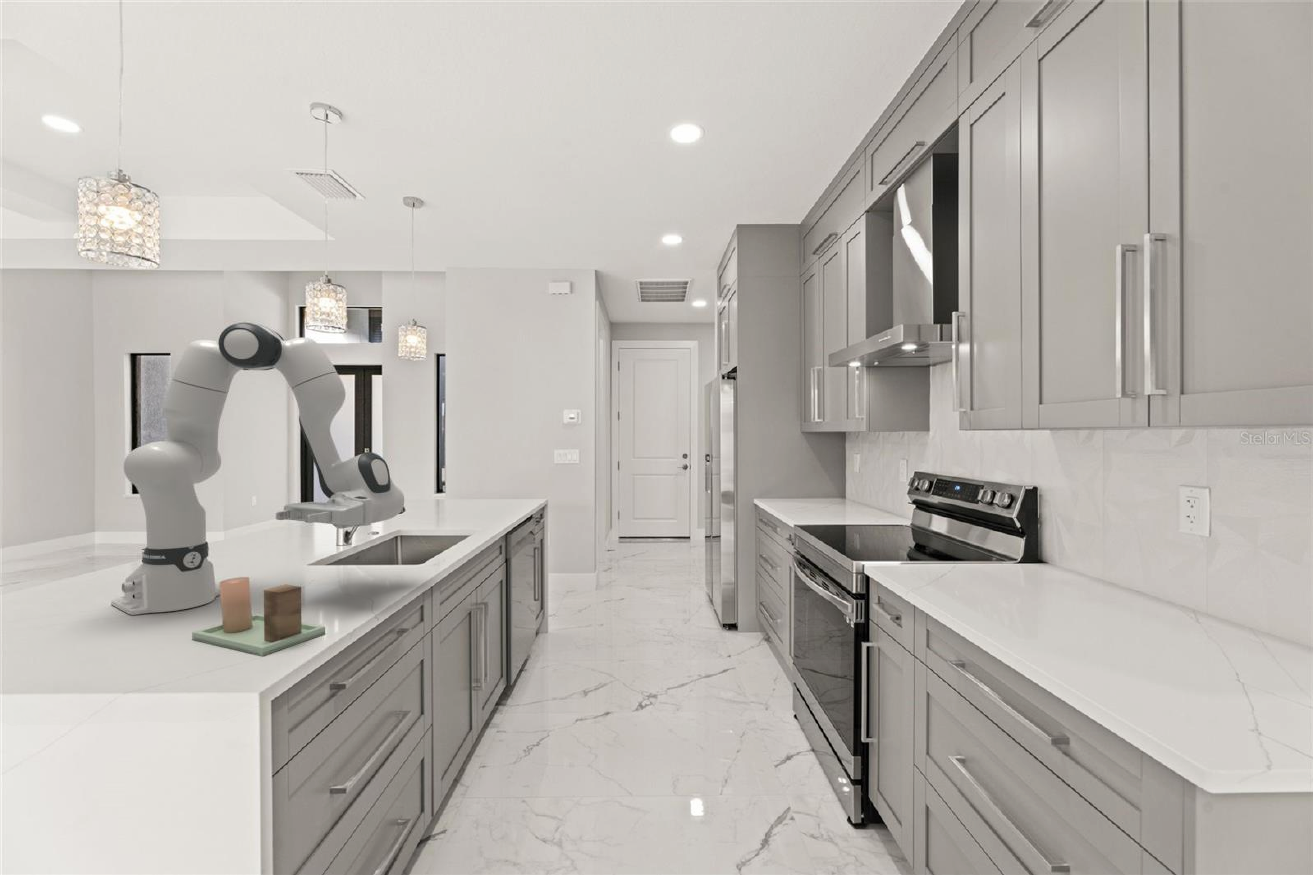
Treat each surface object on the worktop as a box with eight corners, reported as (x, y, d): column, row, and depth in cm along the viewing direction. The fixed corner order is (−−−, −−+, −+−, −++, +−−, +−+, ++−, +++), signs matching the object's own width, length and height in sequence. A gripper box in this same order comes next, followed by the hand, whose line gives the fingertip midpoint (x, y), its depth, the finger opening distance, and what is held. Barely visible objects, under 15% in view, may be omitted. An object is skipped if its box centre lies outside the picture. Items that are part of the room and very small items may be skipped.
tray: (192, 639, 120) (192, 632, 120) (257, 620, 132) (257, 613, 132) (262, 656, 112) (262, 648, 112) (325, 633, 124) (325, 626, 124)
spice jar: (217, 631, 124) (214, 582, 123) (242, 622, 128) (239, 576, 128) (232, 633, 122) (229, 584, 121) (257, 625, 126) (254, 578, 126)
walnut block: (264, 640, 118) (263, 590, 118) (286, 633, 122) (285, 584, 122) (279, 644, 116) (279, 592, 116) (301, 636, 120) (301, 586, 120)
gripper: (315, 494, 152) (261, 501, 139) (375, 499, 144) (323, 506, 131) (315, 519, 152) (261, 528, 140) (375, 525, 144) (323, 535, 132)
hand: (292, 517), depth 135 cm, fingers open, 8 cm apart
